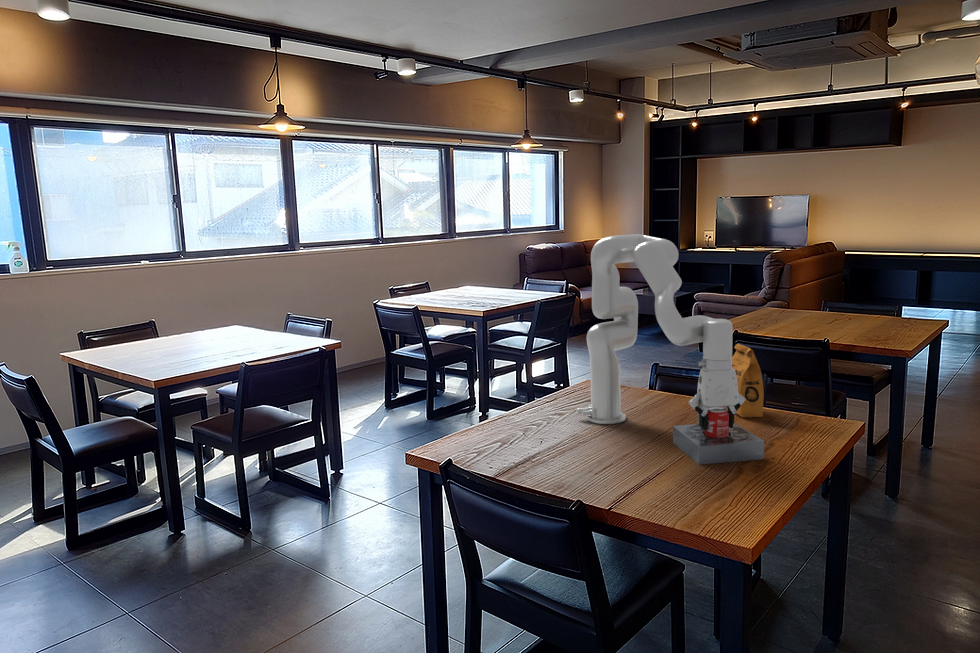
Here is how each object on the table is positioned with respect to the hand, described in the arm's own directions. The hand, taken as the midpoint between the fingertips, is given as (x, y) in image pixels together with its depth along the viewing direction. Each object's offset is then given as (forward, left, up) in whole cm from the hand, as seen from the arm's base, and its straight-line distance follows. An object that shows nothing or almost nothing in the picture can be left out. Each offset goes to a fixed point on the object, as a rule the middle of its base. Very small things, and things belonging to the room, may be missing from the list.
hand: (716, 427), depth 189 cm
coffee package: (+24, +31, -7) cm, 40 cm away
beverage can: (0, 0, -7) cm, 7 cm away
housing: (0, 0, -7) cm, 7 cm away
